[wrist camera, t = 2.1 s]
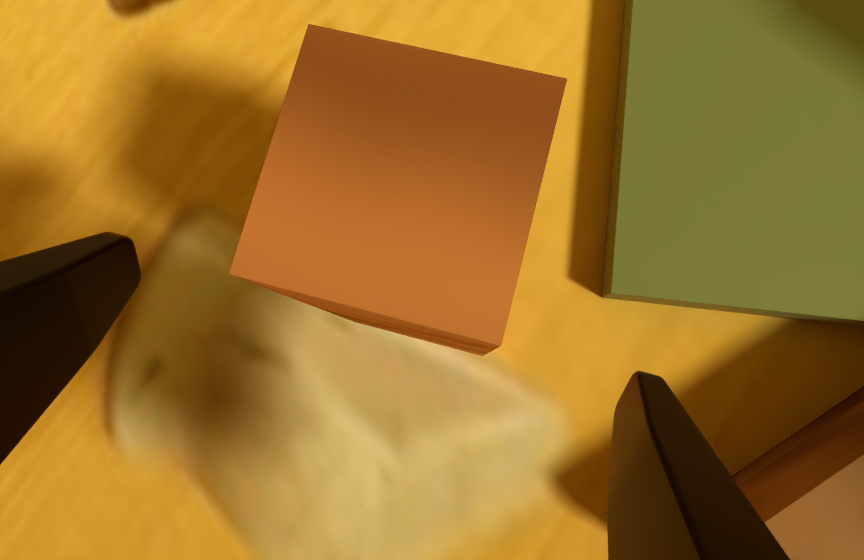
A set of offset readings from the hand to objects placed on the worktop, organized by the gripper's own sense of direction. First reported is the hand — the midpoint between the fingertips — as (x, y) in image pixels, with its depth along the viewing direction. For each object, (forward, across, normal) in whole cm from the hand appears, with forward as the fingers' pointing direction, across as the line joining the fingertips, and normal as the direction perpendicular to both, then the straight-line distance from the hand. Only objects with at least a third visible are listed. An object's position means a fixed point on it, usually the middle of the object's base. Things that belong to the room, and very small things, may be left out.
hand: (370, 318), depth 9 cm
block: (+8, 0, +5) cm, 9 cm away
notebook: (+13, -9, 0) cm, 16 cm away
